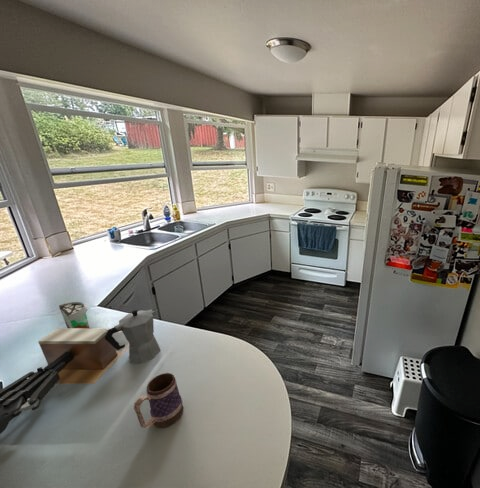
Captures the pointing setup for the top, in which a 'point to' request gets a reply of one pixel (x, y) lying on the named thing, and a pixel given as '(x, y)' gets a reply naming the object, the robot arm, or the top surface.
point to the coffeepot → (137, 335)
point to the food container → (74, 315)
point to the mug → (161, 402)
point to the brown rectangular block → (79, 347)
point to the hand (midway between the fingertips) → (70, 355)
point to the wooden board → (91, 375)
